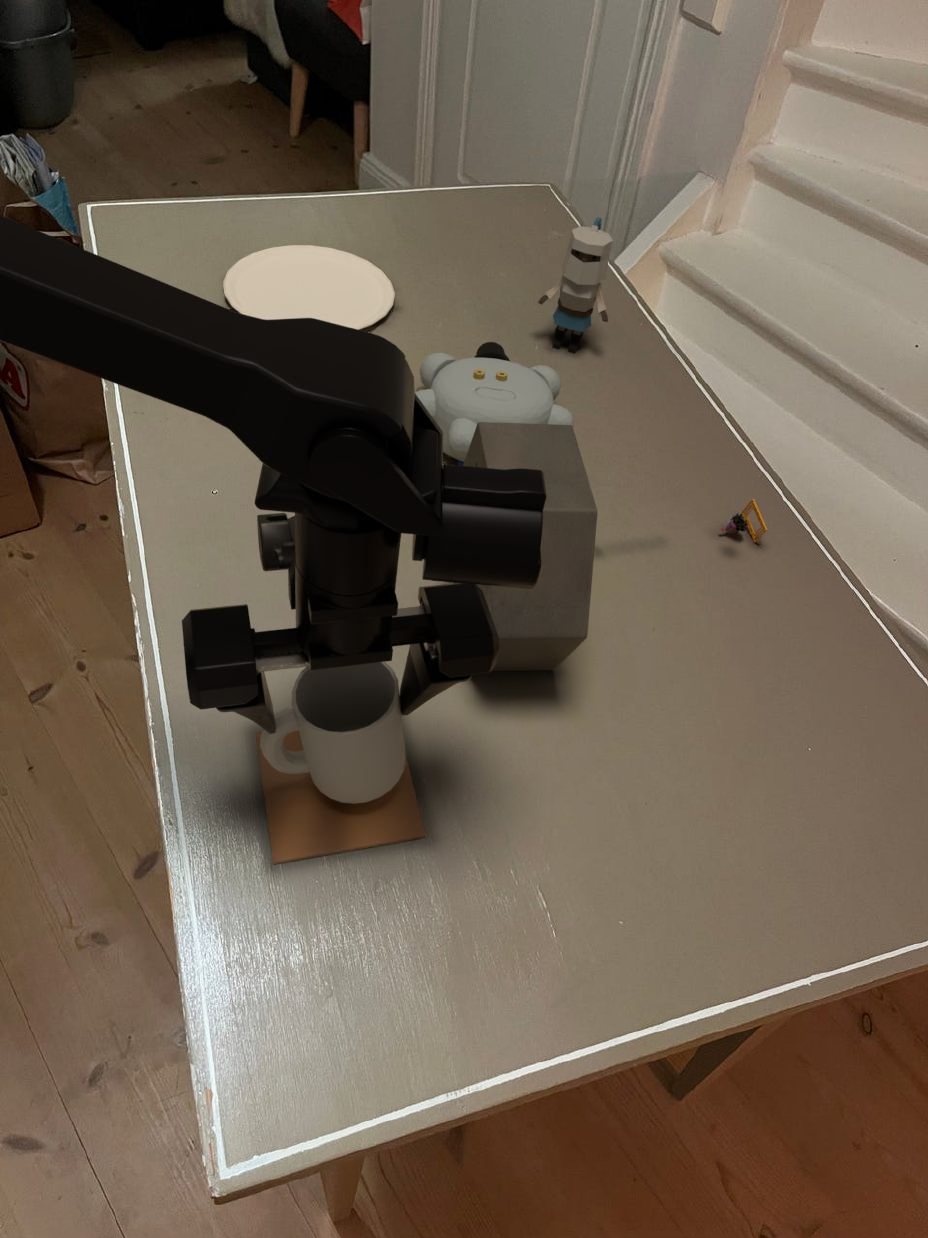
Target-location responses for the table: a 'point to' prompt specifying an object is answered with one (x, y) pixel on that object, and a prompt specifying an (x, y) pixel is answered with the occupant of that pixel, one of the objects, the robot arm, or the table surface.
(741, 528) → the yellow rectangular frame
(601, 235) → the toy
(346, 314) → the plate
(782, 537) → the table surface
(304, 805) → the coaster
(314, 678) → the cup
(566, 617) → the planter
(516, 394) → the figurine
